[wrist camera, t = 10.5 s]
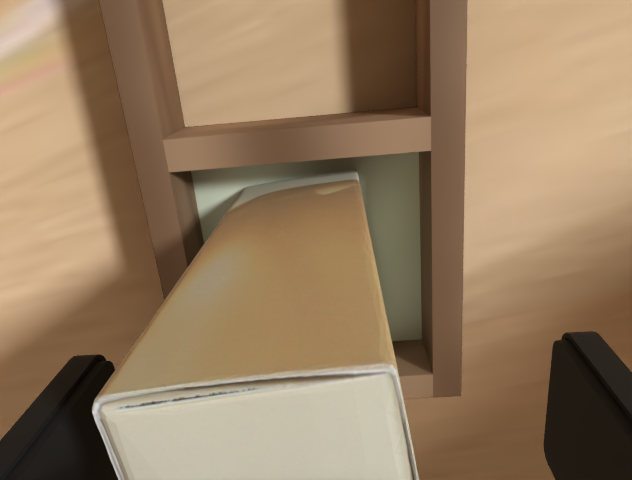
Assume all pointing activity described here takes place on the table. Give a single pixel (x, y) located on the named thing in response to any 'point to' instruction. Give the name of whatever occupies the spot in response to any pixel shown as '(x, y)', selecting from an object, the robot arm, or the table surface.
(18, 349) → the table surface
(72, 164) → the table surface
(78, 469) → the robot arm
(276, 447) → the skincare box
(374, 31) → the table surface
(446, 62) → the divided wooden tray
